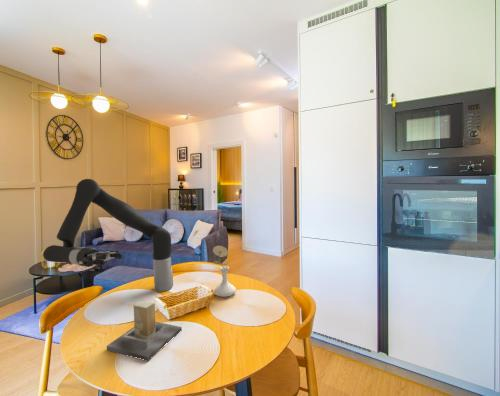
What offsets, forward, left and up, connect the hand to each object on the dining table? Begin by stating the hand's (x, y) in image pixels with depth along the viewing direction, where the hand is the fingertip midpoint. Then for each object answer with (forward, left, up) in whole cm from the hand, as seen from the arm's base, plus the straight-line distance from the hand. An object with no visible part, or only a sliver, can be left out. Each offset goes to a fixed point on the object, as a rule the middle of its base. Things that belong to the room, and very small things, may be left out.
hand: (113, 259), depth 102 cm
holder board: (+4, +19, -28) cm, 34 cm away
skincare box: (+4, +19, -26) cm, 32 cm away
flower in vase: (-40, +29, -28) cm, 57 cm away
